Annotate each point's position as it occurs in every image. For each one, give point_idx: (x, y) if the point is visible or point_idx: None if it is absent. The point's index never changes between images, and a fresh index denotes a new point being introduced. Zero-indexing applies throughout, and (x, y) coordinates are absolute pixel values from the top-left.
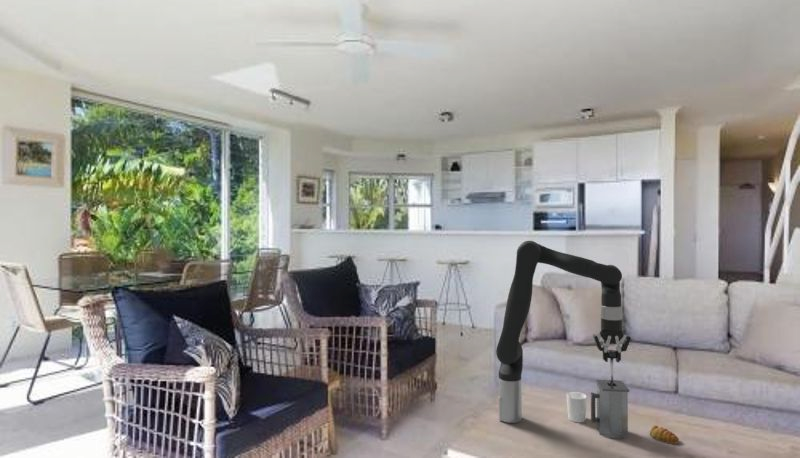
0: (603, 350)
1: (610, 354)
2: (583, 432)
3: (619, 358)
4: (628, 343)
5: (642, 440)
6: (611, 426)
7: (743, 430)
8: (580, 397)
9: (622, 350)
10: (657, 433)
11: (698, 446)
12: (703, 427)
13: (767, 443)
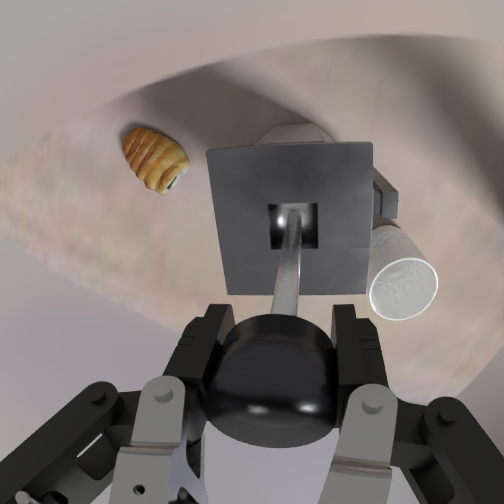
0: (393, 413)
1: (303, 357)
2: (389, 156)
3: (197, 333)
4: (23, 448)
5: (217, 129)
6: (311, 125)
7: (28, 241)
8: (379, 303)
9: (129, 402)
10: (167, 148)
11: (92, 135)
12: (76, 243)
13: (6, 194)
